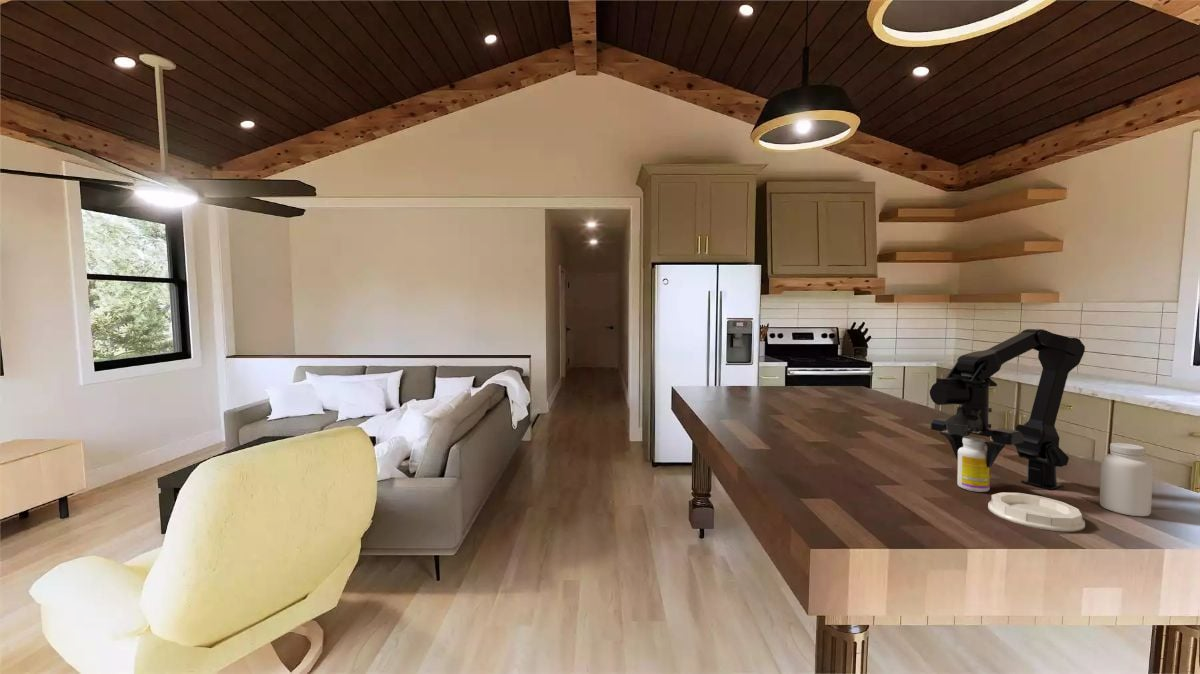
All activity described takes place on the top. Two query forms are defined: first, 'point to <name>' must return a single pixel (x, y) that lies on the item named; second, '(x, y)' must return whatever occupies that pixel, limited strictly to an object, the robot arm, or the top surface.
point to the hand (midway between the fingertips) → (973, 463)
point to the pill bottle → (1126, 480)
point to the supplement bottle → (973, 465)
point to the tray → (1036, 512)
